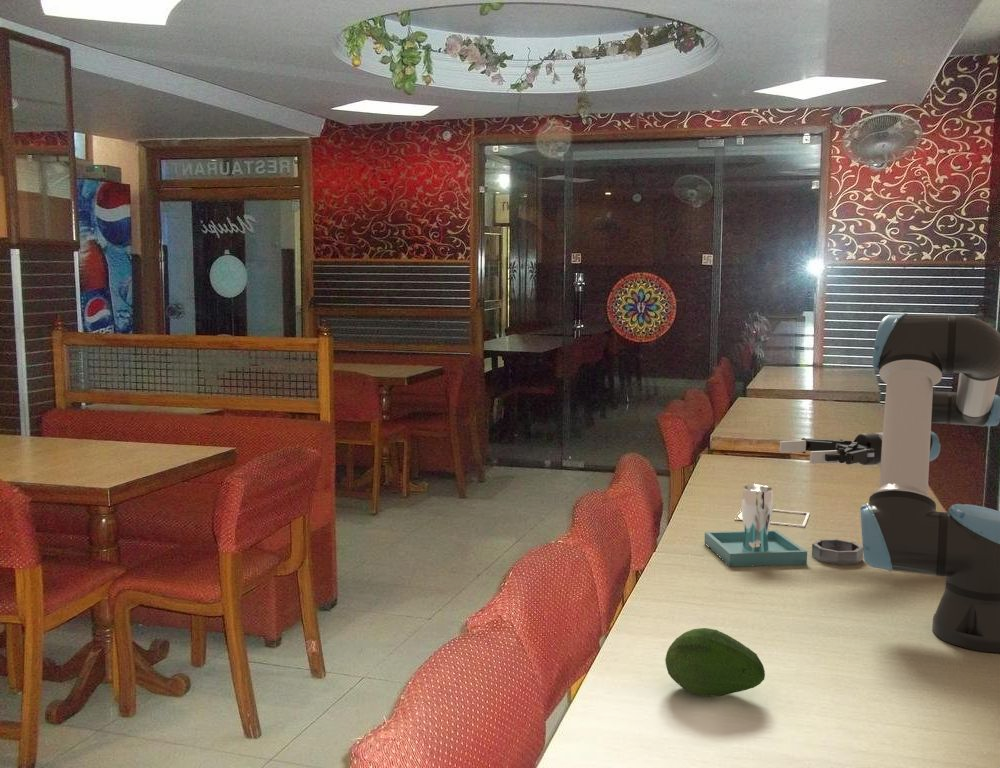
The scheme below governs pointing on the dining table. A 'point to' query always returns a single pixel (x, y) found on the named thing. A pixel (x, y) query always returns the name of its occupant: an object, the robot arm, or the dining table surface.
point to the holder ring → (837, 552)
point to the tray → (733, 555)
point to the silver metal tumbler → (756, 517)
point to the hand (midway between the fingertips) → (795, 452)
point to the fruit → (713, 663)
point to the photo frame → (786, 523)
